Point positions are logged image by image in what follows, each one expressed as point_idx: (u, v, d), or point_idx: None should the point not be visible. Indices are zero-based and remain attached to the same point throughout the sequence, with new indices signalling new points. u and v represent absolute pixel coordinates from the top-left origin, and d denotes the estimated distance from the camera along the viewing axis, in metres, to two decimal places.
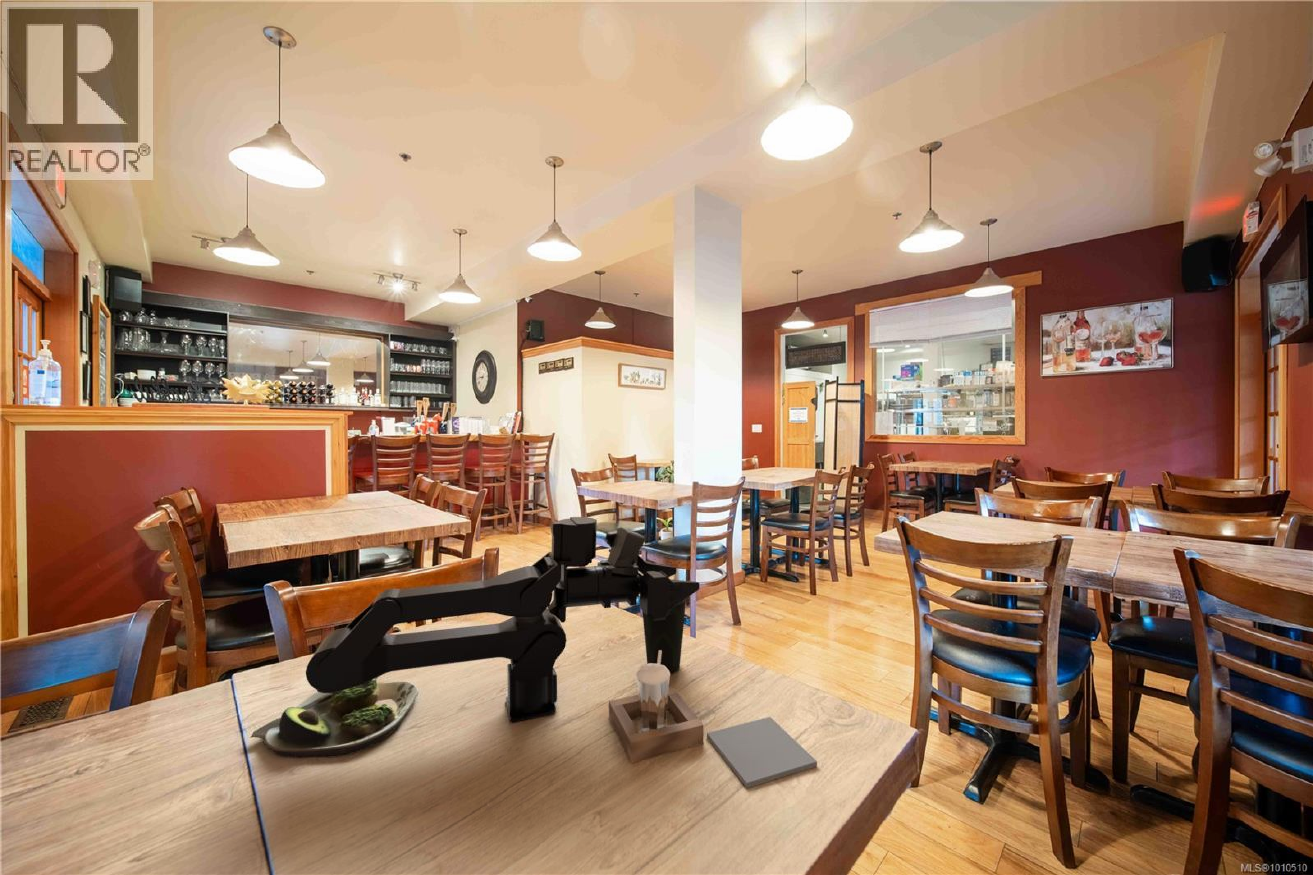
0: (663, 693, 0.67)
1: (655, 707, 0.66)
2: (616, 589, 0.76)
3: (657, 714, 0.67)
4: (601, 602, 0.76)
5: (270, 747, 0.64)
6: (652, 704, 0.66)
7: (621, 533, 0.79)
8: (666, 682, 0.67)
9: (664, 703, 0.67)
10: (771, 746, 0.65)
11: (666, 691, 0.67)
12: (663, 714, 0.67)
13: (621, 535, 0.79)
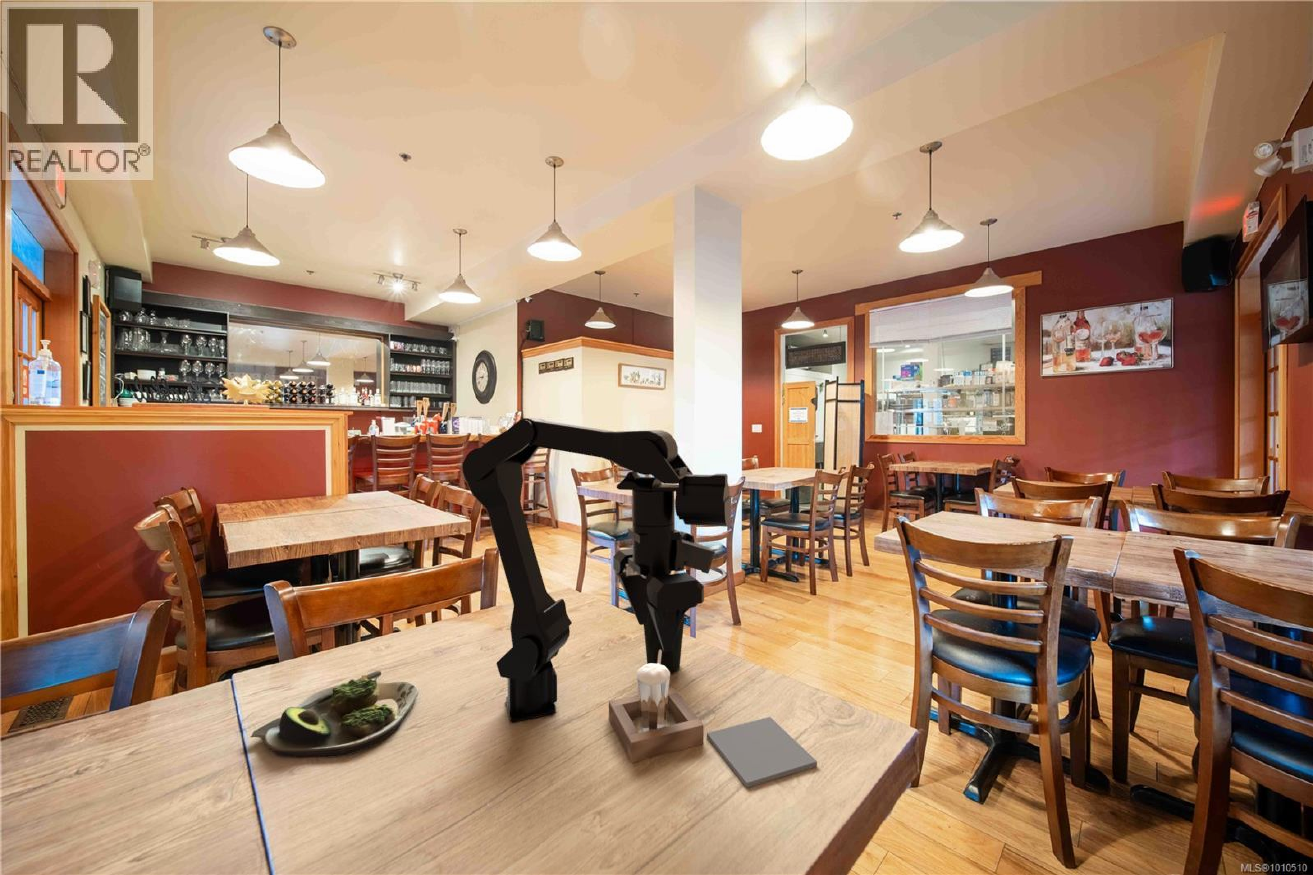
0: (663, 693, 0.67)
1: (655, 707, 0.66)
2: (661, 546, 0.65)
3: (657, 714, 0.67)
4: (643, 532, 0.66)
5: (270, 747, 0.64)
6: (652, 704, 0.66)
7: (704, 547, 0.71)
8: (666, 682, 0.67)
9: (664, 703, 0.67)
10: (771, 746, 0.65)
11: (666, 691, 0.67)
12: (663, 714, 0.67)
13: (704, 547, 0.71)
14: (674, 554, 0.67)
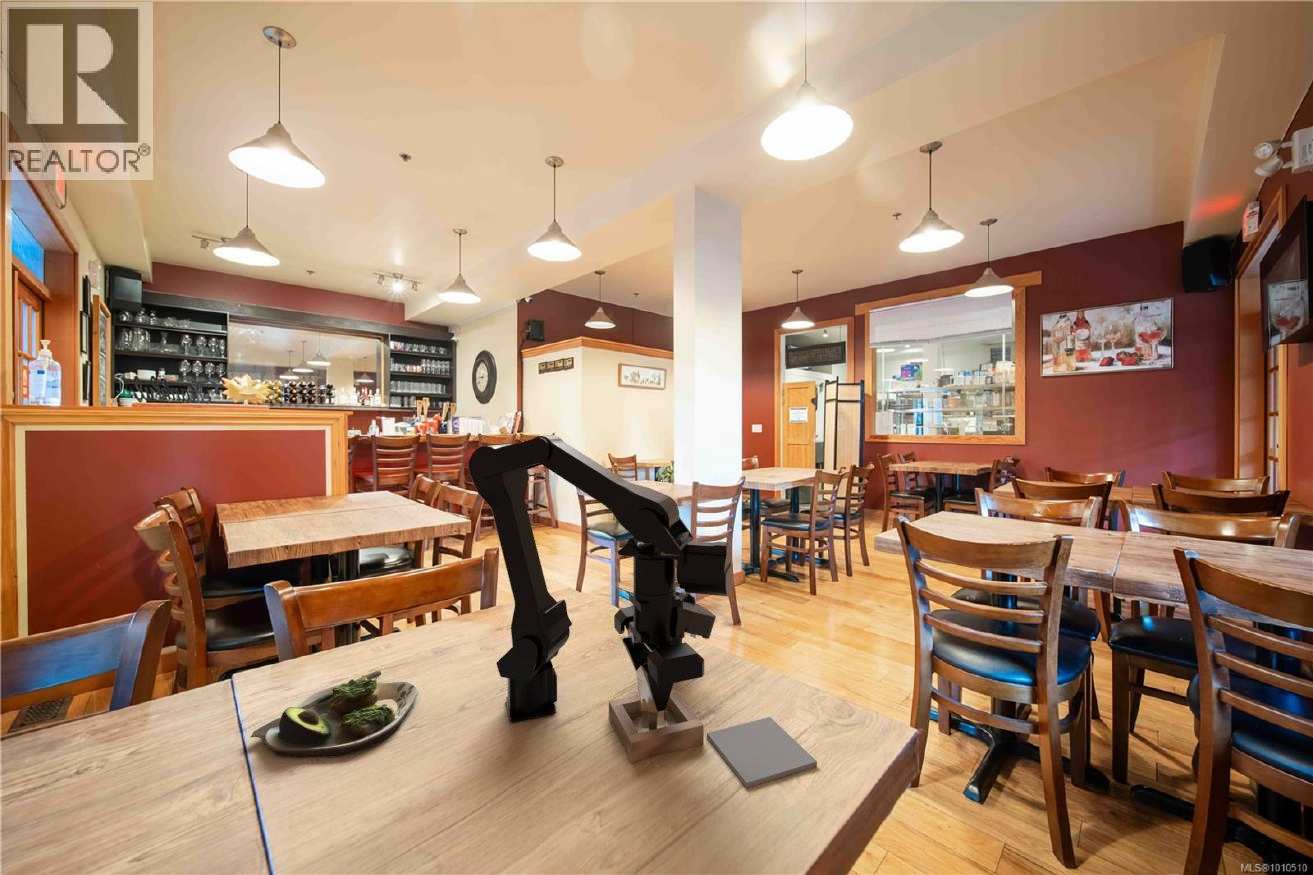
0: None
1: None
2: (662, 615, 0.66)
3: (657, 713, 0.67)
4: (644, 600, 0.66)
5: (270, 747, 0.64)
6: (652, 702, 0.67)
7: (705, 610, 0.71)
8: None
9: None
10: (771, 746, 0.65)
11: None
12: (663, 713, 0.67)
13: (704, 610, 0.71)
14: (675, 621, 0.67)
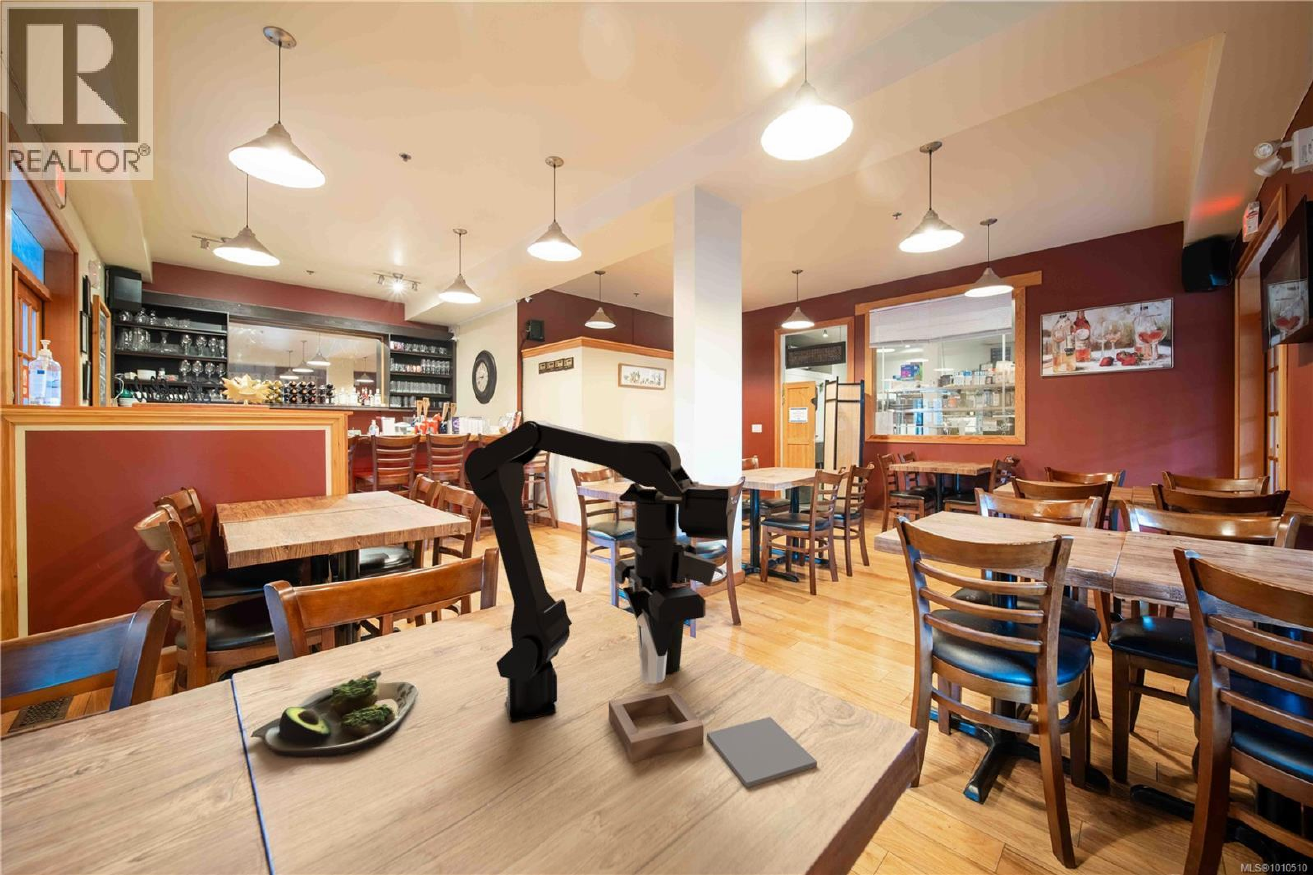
0: None
1: (655, 652, 0.67)
2: (663, 559, 0.65)
3: (657, 659, 0.67)
4: (645, 544, 0.65)
5: (270, 747, 0.64)
6: (652, 649, 0.66)
7: (706, 559, 0.71)
8: None
9: None
10: (771, 746, 0.65)
11: None
12: (663, 660, 0.67)
13: (705, 559, 0.71)
14: (676, 567, 0.67)
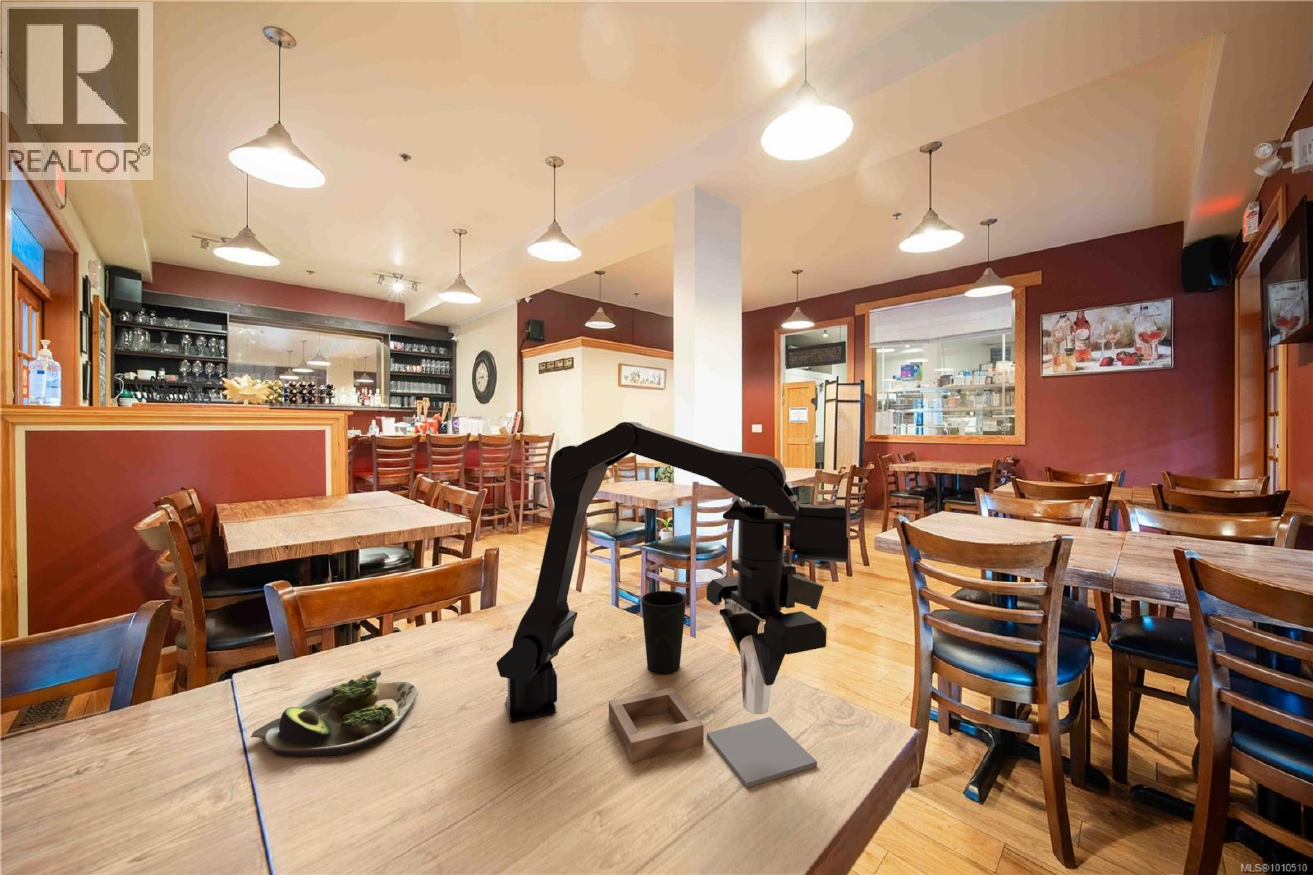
0: None
1: (762, 680, 0.62)
2: (773, 582, 0.61)
3: (764, 688, 0.62)
4: (754, 566, 0.61)
5: (270, 747, 0.64)
6: (759, 677, 0.62)
7: (809, 580, 0.67)
8: None
9: None
10: (771, 746, 0.65)
11: None
12: (769, 688, 0.63)
13: (809, 580, 0.66)
14: (784, 589, 0.63)
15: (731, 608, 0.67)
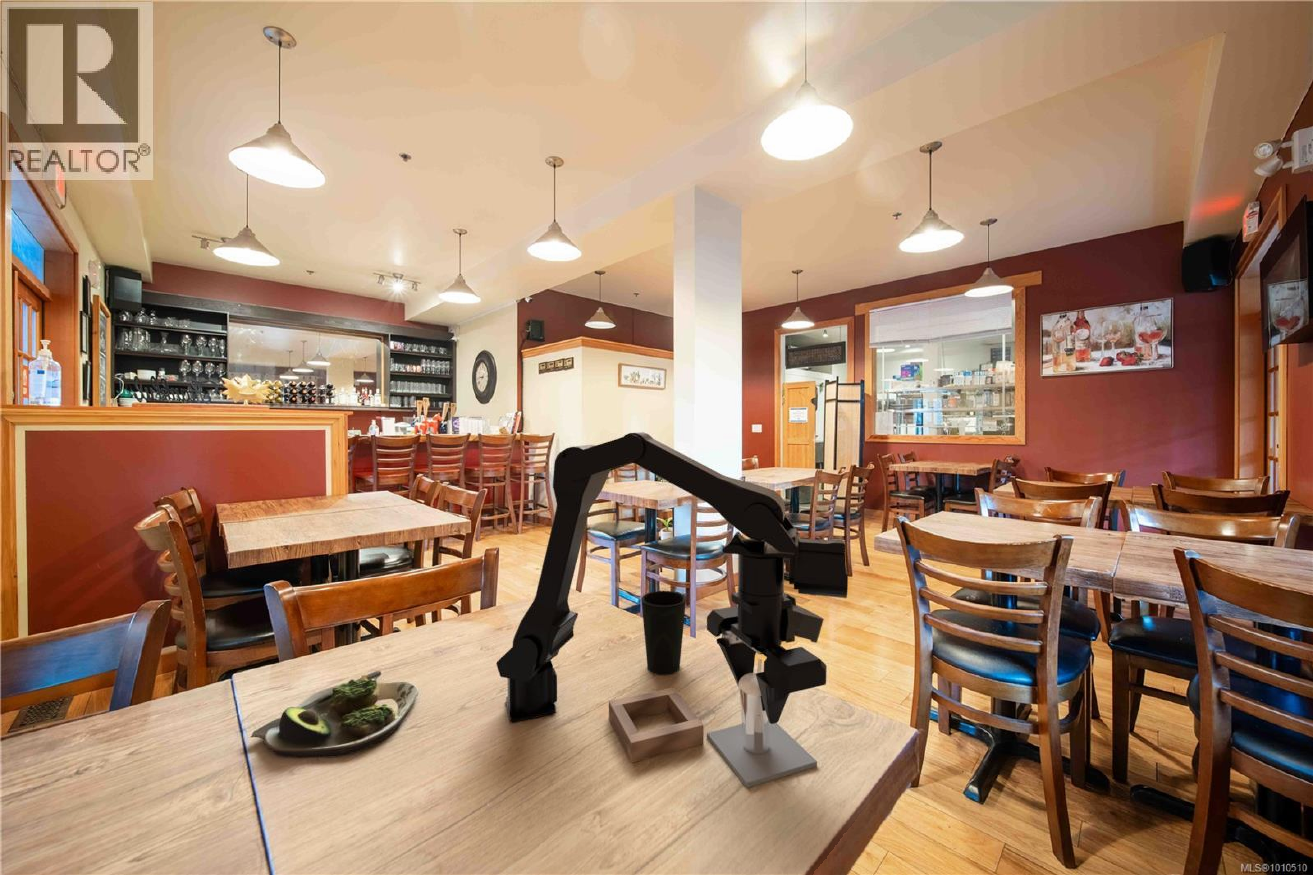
0: None
1: (761, 720, 0.63)
2: (773, 617, 0.61)
3: (763, 728, 0.63)
4: (754, 601, 0.61)
5: (270, 747, 0.64)
6: (758, 717, 0.62)
7: (809, 612, 0.67)
8: None
9: None
10: (771, 746, 0.65)
11: None
12: (769, 727, 0.63)
13: (809, 612, 0.67)
14: (784, 624, 0.63)
15: (728, 638, 0.68)
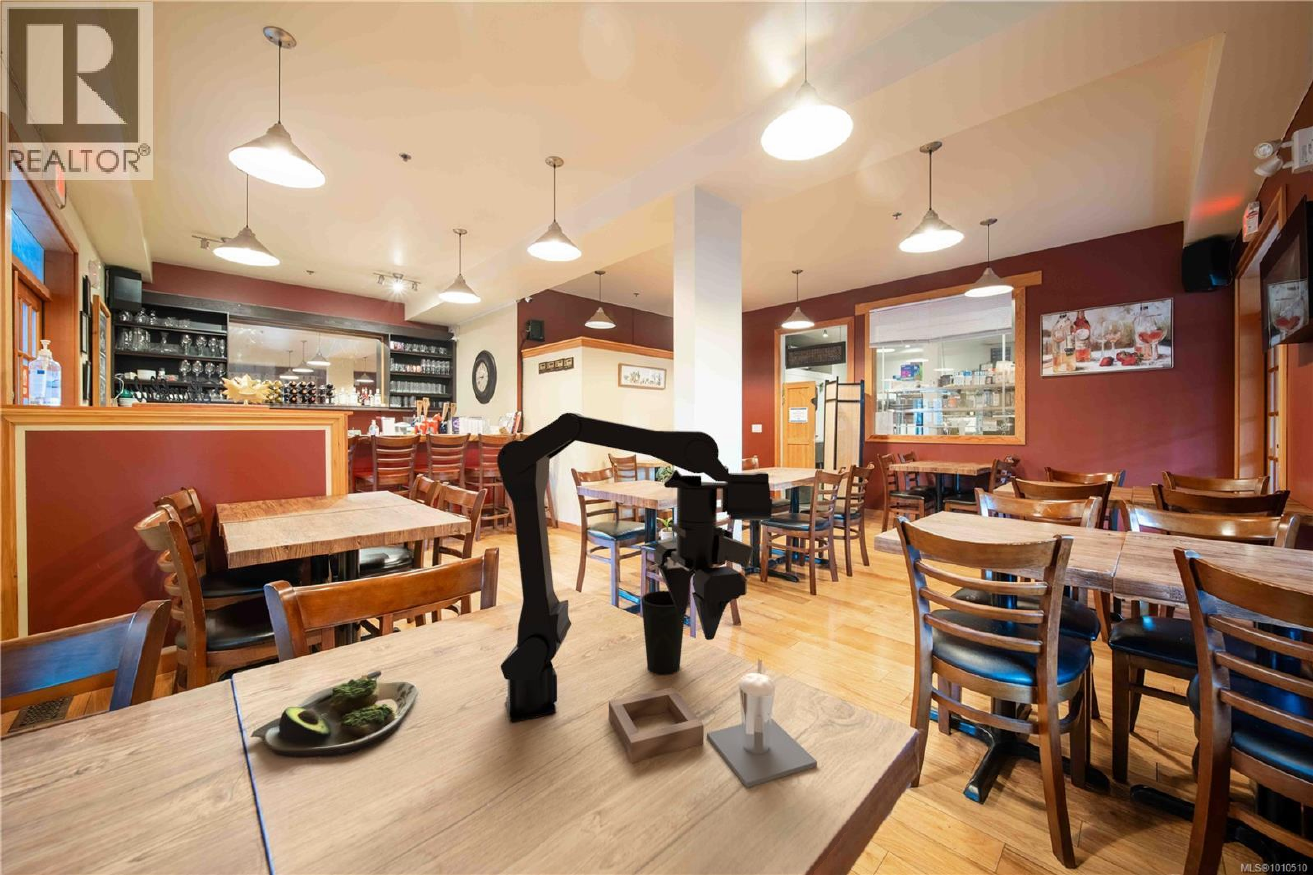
0: (769, 705, 0.63)
1: (761, 720, 0.62)
2: (704, 541, 0.69)
3: (763, 728, 0.63)
4: (688, 527, 0.70)
5: (270, 747, 0.64)
6: (758, 717, 0.62)
7: (743, 543, 0.75)
8: (772, 694, 0.63)
9: (770, 716, 0.63)
10: (771, 746, 0.65)
11: (772, 703, 0.63)
12: (769, 728, 0.63)
13: (742, 543, 0.75)
14: (716, 549, 0.71)
15: (666, 563, 0.77)
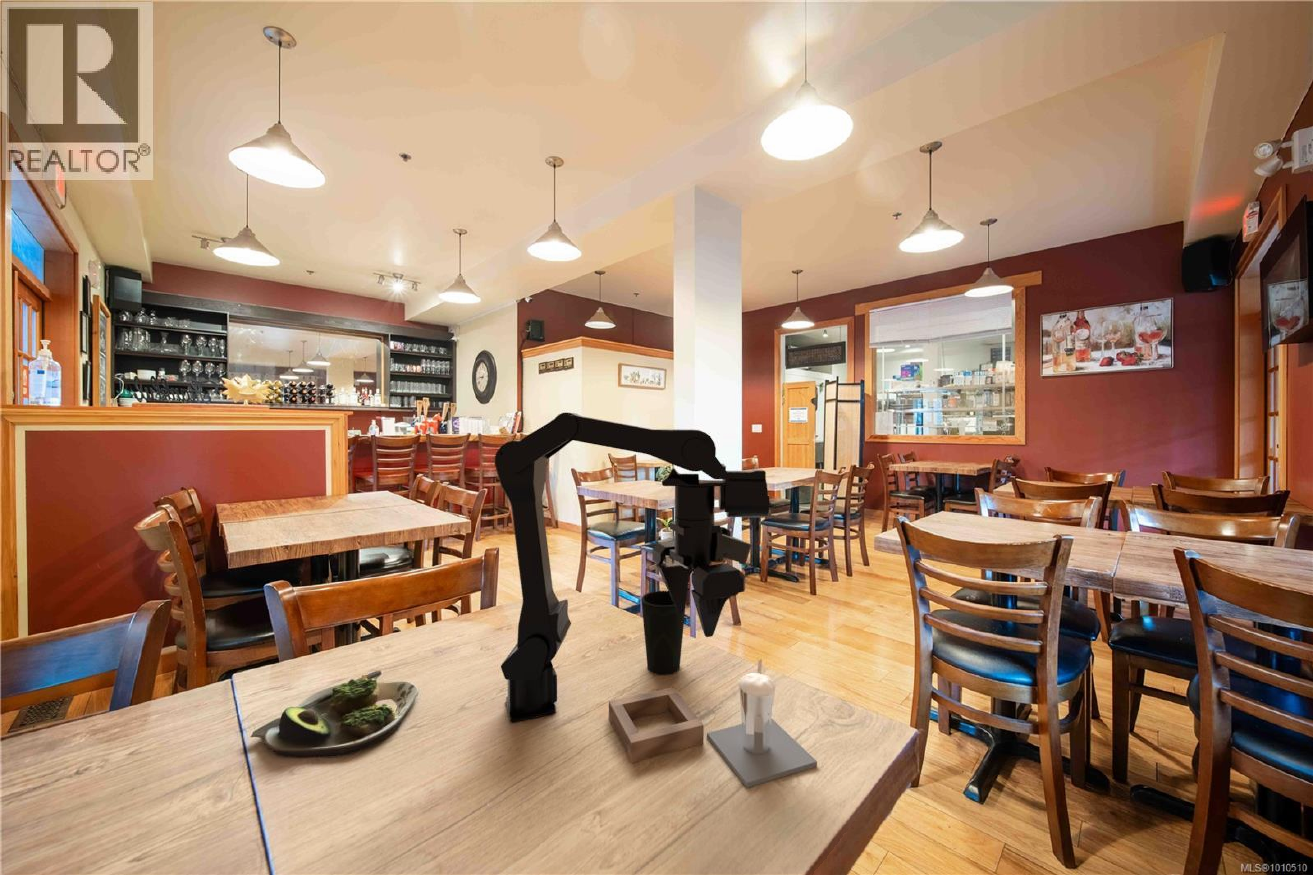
0: (769, 705, 0.63)
1: (761, 720, 0.62)
2: (703, 539, 0.70)
3: (763, 728, 0.63)
4: (686, 525, 0.70)
5: (270, 747, 0.64)
6: (758, 717, 0.62)
7: (740, 540, 0.75)
8: (772, 694, 0.63)
9: (770, 716, 0.63)
10: (771, 746, 0.65)
11: (772, 703, 0.63)
12: (769, 728, 0.63)
13: (740, 540, 0.75)
14: (714, 546, 0.71)
15: (665, 561, 0.77)
